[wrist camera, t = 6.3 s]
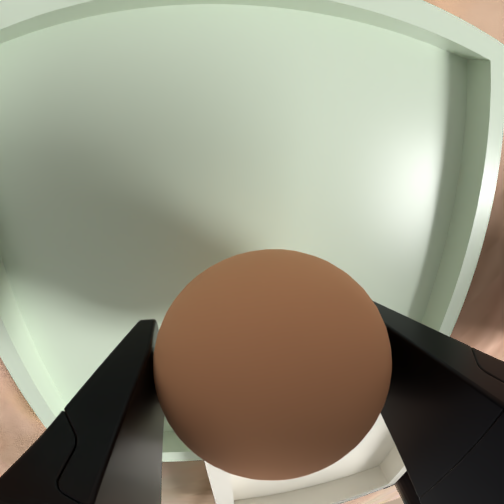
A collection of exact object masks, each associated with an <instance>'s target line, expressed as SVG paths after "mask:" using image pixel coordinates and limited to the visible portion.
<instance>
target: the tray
mask: <svg viewBox="0 0 504 504" xmlns="http://www.w3.org/2000/svg"><path fill="white" fill-rule="evenodd" d="M503 129H504V44H502V43H501V42H499V41H498V40H496V39H494V38H493V37H491V36H490V35H488V34H486V33H485V32H483V31H481V30H480V29H478V28H476V27H475V26H473V25H471V24H469V23H468V22H466V21H464V20H462V19H460V18H458V17H456V16H454V15H453V14H451V13H449V12H447V11H445V10H442V9H440V8H438V7H436V6H434V5H432V4H430V3H427V2H425V1H423V0H0V357H1V359H2V361H3V363H4V364H5V366H6V368H7V370H8V371H9V373H10V375H11V376H12V378H13V380H14V381H15V383H16V385H17V386H18V388H19V389H20V391H21V393H22V394H23V396H24V397H25V399H26V400H27V402H28V403H29V405H30V406H31V408H32V409H33V411H34V412H35V413H36V415H37V416H38V418H39V419H40V420H41V422H42V423H43V425H44V426H45V427H46V429H47V428H48V427H49V426H50V424H51V423H52V422H53V421H54V420H55V418H56V417H57V416H58V415H59V414H60V412H61V411H64V408H65V406H66V405H67V404H68V403H69V402H70V400H71V399H72V398H73V397H74V396H75V394H76V393H77V392H78V391H79V390H80V388H81V387H82V386H83V385H84V384H85V382H86V381H87V380H88V379H89V378H90V377H91V375H92V374H93V373H94V372H95V371H96V369H97V368H98V367H99V366H100V365H101V364H102V362H103V361H104V360H105V359H106V358H107V357H108V356H109V354H110V353H111V352H112V351H113V350H114V349H115V347H116V346H117V345H118V344H119V343H120V342H121V341H122V339H123V338H124V337H125V336H126V335H127V334H128V333H129V331H130V330H131V329H132V328H133V327H134V326H135V325H136V324H137V322H138V321H140V320H145V319H155V320H156V321H157V324H158V329H160V327H161V324H162V322H163V319H164V317H165V315H166V312H167V311H168V309H169V307H170V306H171V304H172V303H173V301H174V300H175V298H176V297H177V296H178V295H179V293H180V292H181V291H182V290H183V289H184V288H185V286H186V285H187V284H188V283H190V282H191V281H192V280H193V279H194V278H195V277H196V276H197V275H199V274H200V273H202V272H203V271H205V270H206V269H208V268H209V267H211V266H213V265H215V264H217V263H218V262H220V261H222V260H224V259H227V258H230V257H232V256H235V255H238V254H242V253H246V252H250V251H257V250H265V249H284V250H293V251H298V252H302V253H306V254H309V255H313V256H316V257H319V258H321V259H323V260H326V261H328V262H330V263H331V264H333V265H335V266H336V267H338V268H340V269H341V270H343V271H344V272H346V273H347V274H348V275H349V276H351V277H352V278H353V279H354V280H355V281H356V282H357V283H358V284H359V285H360V286H361V287H362V288H363V289H364V290H365V291H366V293H367V294H368V295H369V297H370V298H371V299H372V301H374V302H377V303H379V304H381V305H383V306H385V307H387V308H389V309H392V310H394V311H396V312H398V313H400V314H402V315H404V316H407V317H409V318H411V319H413V320H415V321H417V322H419V323H421V324H424V325H426V326H428V327H430V328H432V329H434V330H436V331H439V332H441V333H443V334H445V335H447V336H449V337H450V335H451V333H452V330H453V328H454V326H455V323H456V321H457V318H458V316H459V313H460V311H461V308H462V306H463V303H464V301H465V298H466V295H467V292H468V290H469V287H470V284H471V281H472V278H473V275H474V272H475V269H476V266H477V262H478V259H479V256H480V252H481V249H482V245H483V242H484V238H485V234H486V230H487V226H488V222H489V218H490V213H491V209H492V204H493V199H494V194H495V189H496V183H497V177H498V171H499V164H500V157H501V149H502V140H503ZM384 423H385V422H384ZM381 424H382V423H381ZM378 425H379V424H378ZM375 426H376V425H375ZM195 460H203V459H201V458H200V457H199V456H197V455H196V454H195V453H193V452H192V451H191V450H190V449H189V448H188V447H187V446H186V445H185V444H184V443H183V442H182V441H181V440H180V439H179V437H178V436H177V435H176V433H175V432H174V430H173V429H172V427H171V426H170V424H169V423H168V421H167V419H166V417H165V415H164V430H163V450H162V462H175V461H195Z"/></svg>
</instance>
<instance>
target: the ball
mask: <svg viewBox="0 0 504 504" xmlns="http://www.w3.org/2000/svg"><path fill="white" fill-rule="evenodd" d="M391 373H392V355H391V346H390V341H389V337H388V333H387V329H386V326H385V324H384V321H383V319H382V317H381V315H380V313H379V310H378V308H377V306H376V305H375V304H374V302H373V301H372V299H371V298H370V297H369V295H368V294H367V293H366V291H365V290H364V289H363V288H362V287H361V286H360V285H359V284H358V283H357V282H356V281H355V280H354V279H353V278H352V277H351V276H349V275H348V274H347V273H346V272H344V271H343V270H341V269H340V268H338V267H336V266H335V265H333V264H331V263H330V262H328V261H326V260H323V259H321V258H319V257H316V256H313V255H309V254H306V253H302V252H298V251H293V250H284V249H265V250H257V251H250V252H246V253H242V254H238V255H235V256H232V257H230V258H227V259H224V260H222V261H220V262H218V263H217V264H215V265H213V266H211V267H209V268H208V269H206V270H205V271H203V272H202V273H200V274H199V275H197V276H196V277H195V278H194V279H193V280H192V281H191V282H190V283H188V284H187V285H186V286H185V288H184V289H183V290H182V291H181V292H180V293H179V295H178V296H177V297H176V298H175V300H174V301H173V303H172V304H171V306H170V307H169V309H168V311H167V312H166V315H165V317H164V319H163V322H162V324H161V327H160V329H159V331H158V334H157V339H156V344H155V349H154V355H153V377H154V383H155V389H156V393H157V397H158V401H159V403H160V406H161V408H162V410H163V413H164V415H165V417H166V419H167V421H168V423H169V424H170V426H171V427H172V429H173V430H174V432H175V433H176V435H177V436H178V437H179V439H180V440H181V441H182V442H183V443H184V444H185V445H186V446H187V447H188V448H189V449H190V450H191V451H192V452H193V453H195V454H196V455H197V456H199V457H200V458H201V459H203V460H204V461H206V462H207V463H209V464H211V465H212V466H214V467H216V468H218V469H221V470H223V471H225V472H227V473H230V474H233V475H236V476H240V477H244V478H249V479H254V480H273V481H274V480H288V479H294V478H299V477H303V476H306V475H310V474H312V473H315V472H318V471H320V470H322V469H325V468H327V467H329V466H330V465H332V464H334V463H336V462H337V461H339V460H340V459H341V458H343V457H344V456H345V455H347V454H348V453H349V452H351V451H352V450H353V449H354V448H355V447H356V446H357V445H358V444H359V443H360V442H361V441H362V440H363V439H364V437H365V436H366V435H367V434H368V432H369V431H370V430H371V429H372V427H373V426H374V424H375V422H376V420H377V419H378V417H379V415H380V413H381V411H382V409H383V406H384V404H385V401H386V398H387V394H388V391H389V387H390V381H391Z"/></svg>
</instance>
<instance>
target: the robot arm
mask: <svg viewBox="0 0 504 504" xmlns="http://www.w3.org/2000/svg"><path fill="white" fill-rule="evenodd" d="M373 302H374V301H373ZM374 304H375V305H376V306H377V308H378V310H379V313H380V315H381V317H382V319H383V321H384V324H385V326H386V329H387V333H388V337H389V341H390V346H391V355H392V373H391V381H390V387H389V391H388V394H387V398H386V401H385V404H384V406H383V409H382V411H381V415H382V417H383V420H384V422H385V424H386V426H387V428H388V430H389V432H390V435H391V437H392V439H393V441H394V443H395V445H396V448H397V450H398V452H399V454H400V456H401V459H402V461H403V463H404V465H405V468H406V470H407V471H406V472H405V473H404V474H403V475H402V476H401V477H400V478H399V480H398V481H397V482H396V483H395V484H393V485H395V486H396V488H397V490H398V492H399V494H400V496H401V498H402V500H403V502H404V504H504V361H501V360H499V359H496V358H494V357H492V356H490V355H488V354H485V353H483V352H481V351H479V350H477V349H475V348H471V347H470V346H468V345H466V344H464V343H462V342H460V341H458V340H456V339H453V338H451V337H449V336H447V335H445V334H443V333H441V332H439V331H436V330H434V329H432V328H430V327H428V326H426V325H424V324H421V323H419V322H417V321H415V320H413V319H411V318H409V317H407V316H404V315H402V314H400V313H398V312H396V311H394V310H392V309H389V308H387V307H385V306H383V305H381V304H379V303H377V302H374ZM158 331H159V329H158V324H157V321H156V320H155V319H145V320H140V321H138V322H137V324H136V325H135V326H134V327H133V328H132V329H131V330H130V331H129V333H128V334H127V335H126V336H125V337H124V338H123V339H122V341H121V342H120V343H119V344H118V345H117V346H116V347H115V349H114V350H113V351H112V352H111V353H110V354H109V356H108V357H107V358H106V359H105V360H104V361H103V362H102V364H101V365H100V366H99V367H98V368H97V369H96V371H95V372H94V373H93V374H92V375H91V377H90V378H89V379H88V380H87V381H86V382H85V384H84V385H83V386H82V387H81V388H80V390H79V391H78V392H77V393H76V394H75V396H74V397H73V398H72V399H71V400H70V402H69V403H68V404H67V405H66V406H65V408H64V411H61V412H60V414H59V415H58V416H57V417H56V418H55V420H54V421H53V422H52V423H51V424H50V426H49V427H48V428H47V429H46V430H45V431H44V433H43V434H42V435H41V436H40V437H39V438H38V439H37V440H36V441H35V442H34V444H33V445H32V446H31V447H30V448H29V449H28V450H27V451H26V452H25V453H24V454H23V455H22V456H21V457H20V458H19V459H18V460H17V461H16V462H15V463H14V464H13V465H12V466H11V467H10V468H9V469H8V470H7V471H6V472H5V473H4V474H3V475H2V476H1V477H0V504H161V478H162V450H163V430H164V413H163V410H162V408H161V406H160V403H159V401H158V397H157V393H156V389H155V383H154V377H153V355H154V349H155V344H156V339H157V334H158ZM393 485H391V486H393ZM388 487H390V486H388ZM388 487H386V488H388ZM383 489H385V488H383Z"/></svg>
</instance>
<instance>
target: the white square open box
mask: <svg viewBox="0 0 504 504" xmlns="http://www.w3.org/2000/svg"><path fill="white" fill-rule="evenodd" d="M381 423H382V424H381ZM378 424H379V425H378ZM375 425H376V426H375ZM205 465H206V469H207V473H208V477H209V481H210V484H211V488H212V492H213V495H214V499H215V502H216V504H341V503H344V502H347V501H350V500H353V499H356V498H359V497H362V496H365V495H368V494H370V493H373V492H376V491H378V490H381V489H383V488H386V487H388V486H391V485H393V484H395V483H396V482H397V481H398V480H399V478H400V477H401V476H402V475H403V474H404V473H405V472H406V471H407V470H406V468H405V465H404V463H403V461H402V459H401V456H400V454H399V452H398V450H397V448H396V445H395V443H394V441H393V439H392V437H391V435H390V432H389V430H388V428H387V426H386V424H385V423H384V420H383V417H382V415H381V413H380V415H379V417H378V419H377V420H376V422H375V424H374V426H373V427H372V429H371V430H370V431H369V432H368V434H367V435H366V436H365V437H364V439H363V440H362V441H361V442H360V443H359V444H358V445H357V446H356V447H355V448H354V449H353V450H352V451H351V452H349V453H348V454H347V455H345V456H344V457H343V458H341V459H340V460H339V461H337V462H336V463H334V464H332V465H330V466H329V467H327V468H325V469H322V470H320V471H318V472H315V473H312V474H310V475H306V476H303V477H299V478H294V479H288V480H274V481H273V480H254V479H249V478H244V477H240V476H236V475H233V474H230V473H227V472H225V471H223V470H221V469H218V468H216V467H214V466H212V465H211V464H209V463H207V462H206V461H205Z"/></svg>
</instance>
